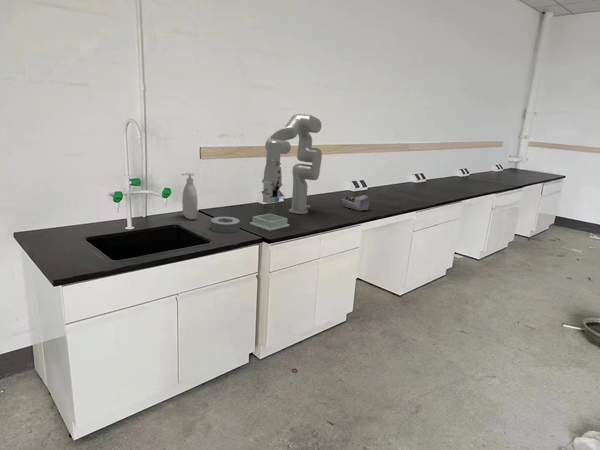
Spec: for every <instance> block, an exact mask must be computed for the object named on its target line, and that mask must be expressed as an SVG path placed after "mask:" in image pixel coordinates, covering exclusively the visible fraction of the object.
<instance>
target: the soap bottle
mask: <svg viewBox="0 0 600 450" xmlns="http://www.w3.org/2000/svg"><path fill="white" fill-rule="evenodd" d="M181 176H188V177H187V178H186V183H185V186H184V188H183V192H182V198H181V199H182V201H181V203H182V212H183V217H184V218H186V219H187V220H191V221H193V219H194V220H196V219H197V215H198V195H197V194H198V193H197V189H196V187H195V184H194V178H192V176H195V173H194V172H193V171H191V170H190V171H186V172H184V173H181Z"/></svg>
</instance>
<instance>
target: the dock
mask: <svg viewBox="0 0 600 450" xmlns="http://www.w3.org/2000/svg"><path fill="white" fill-rule="evenodd" d="M288 219H289V218H288V217H284V216H281V215H277V214H273V213H266V214H261V215H253V216H252V222H249V225H251V226H254V227H256V228H261V229H263V230H267V231H269V232H271V231H275V230H278V229H279V230H280V229H284V228H287V227H290V225H291V224H289V223H288Z"/></svg>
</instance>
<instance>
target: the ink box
mask: <svg viewBox="0 0 600 450" xmlns="http://www.w3.org/2000/svg"><path fill="white" fill-rule="evenodd" d="M262 184H263V188H262V190H263V191H262V202H263V203H266V204H273V203H274V204H275V203H278V202H280V189H279V190H278V194H277V197H273V190H274V187H273V184H272V182H268V181H264V182H262ZM278 185H279V184H278Z"/></svg>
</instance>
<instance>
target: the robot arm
mask: <svg viewBox="0 0 600 450" xmlns="http://www.w3.org/2000/svg"><path fill="white" fill-rule="evenodd" d="M321 130H322V121H321V120H320V119H319V118H318V117H316V116H313V115H311V114H301V113H298V114H297V113H296V114H294V115H292V116H291V117H290V119H289V121H288V122H286V125H285V126H284V127H282V128H280V129H278V130H275V131H274V132H272V133H271V134H270V135H269V137H268V138H267V139H266V142H265V144H264V146H265V150H266V156H265V157H266V159H265V160H266V161H265V162H266V163H265V167H264V171H263V178H262V180H261V183H263V182H264V181H268V182H272V184H273V187H274V190H273V197H277V194H278V190H279V191H280V188H281V187H282V186H283V184H282V183H283V182H282V179H283V178H282V167H281V165H282V164H281V155H287V154H288V153H290V151H291V147H292V146H291V143H290V142H289V140H293V139H295V138H296V137H297V136H298V143H297V154H296V158H297V161H299V162H304V163H296V164H294V165H293V167H292V172H291V173H292V182H293V183H292V195H291V196H292V197H291V208H289V209H288V212H289V213H292V214H295V215H296V214H297V215H305V214H308V213H309V210H308V209H309V208H311V205H310V204H307V201H308V200H307V198H308V183H307V181H308V180H309V181H317V180H318V179H319V177H320V173H321V166H322V165H321V164H322V158H323V153H322V150H321V149H320V148H318V147H313V137H312V136H311V133H312V134H319V132H320V131H321ZM307 163H309V164H307ZM306 180H307V181H306ZM278 184H279V185H278Z"/></svg>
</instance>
